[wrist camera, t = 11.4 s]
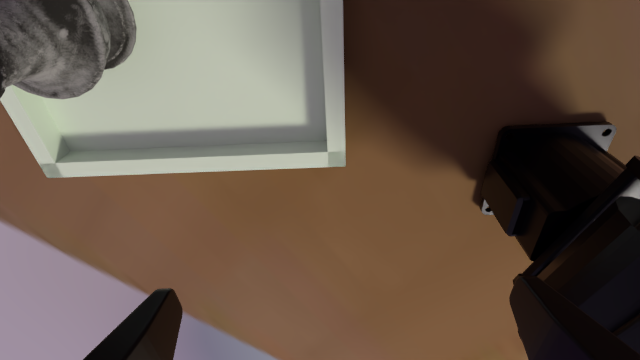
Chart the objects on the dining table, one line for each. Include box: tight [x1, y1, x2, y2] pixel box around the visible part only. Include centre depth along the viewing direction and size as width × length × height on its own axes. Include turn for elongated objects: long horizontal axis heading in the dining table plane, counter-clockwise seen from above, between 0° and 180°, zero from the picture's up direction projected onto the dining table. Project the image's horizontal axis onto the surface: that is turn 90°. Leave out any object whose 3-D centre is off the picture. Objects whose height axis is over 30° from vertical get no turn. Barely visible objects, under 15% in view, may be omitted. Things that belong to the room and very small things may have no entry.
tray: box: [0, 0, 346, 178], centre depth 17 cm, size 18×16×2 cm
